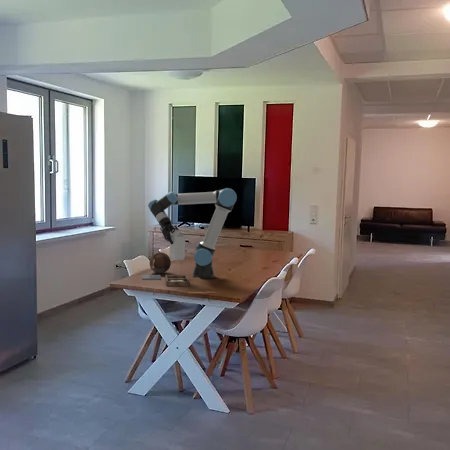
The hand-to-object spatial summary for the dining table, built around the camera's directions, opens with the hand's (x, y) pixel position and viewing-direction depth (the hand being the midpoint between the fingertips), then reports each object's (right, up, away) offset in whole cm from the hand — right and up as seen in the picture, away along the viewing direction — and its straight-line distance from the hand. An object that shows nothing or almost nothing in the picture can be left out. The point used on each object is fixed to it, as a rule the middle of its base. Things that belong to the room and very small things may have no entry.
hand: (181, 247), depth 303 cm
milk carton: (-3, -8, +3) cm, 9 cm away
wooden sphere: (-18, -20, +35) cm, 44 cm away
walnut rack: (-3, -24, -1) cm, 24 cm away
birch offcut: (-2, -23, -6) cm, 24 cm away
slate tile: (-21, -22, +11) cm, 32 cm away
